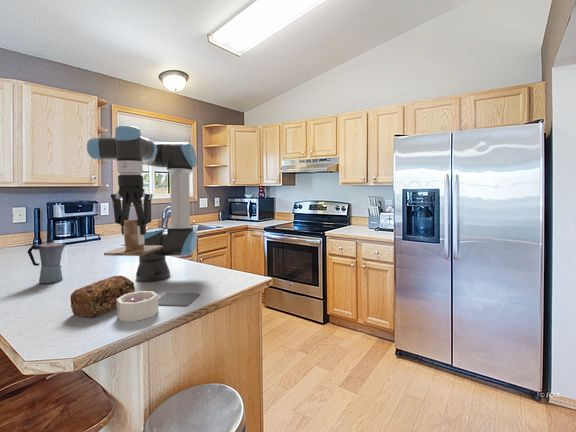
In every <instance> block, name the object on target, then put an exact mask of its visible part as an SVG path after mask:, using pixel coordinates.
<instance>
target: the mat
mask: <svg viewBox="0 0 576 432" xmlns="http://www.w3.org/2000/svg"><path fill="white" fill-rule="evenodd" d="M200 295H201V293H199V292H169V291H168V292H166V293H165V294H163V295H161V296H160V297H158V306H160V307H161V306H162V307H163V306H167V307H169V306H170V307H188V306H189V305H191V303H192V302H194V301H195V300H196V299H197V298H198V297H199V296H200Z"/></svg>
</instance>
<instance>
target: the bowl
mask: <svg viewBox="0 0 576 432" xmlns="http://www.w3.org/2000/svg"><path fill="white" fill-rule="evenodd" d="M158 299H159V295H158V293H156V291H152V290H149V291H148V290H138V291H135V292H133V293H128V294H125V295H123V296H121V297H119V298H118V299H116V300H117V308H116V312H117V313H116V315H117V318H118V319H119V320H120V322H139V321H143V320H145V318H147V319H150V318H149V317H151V318H153V317H154V316H155V315H156V314H158V313H159V312H160V310H159V305H158ZM153 315H154V316H153ZM142 319H143V320H142ZM138 320H139V321H138Z"/></svg>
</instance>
